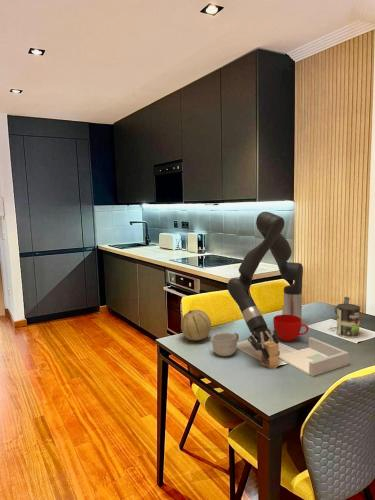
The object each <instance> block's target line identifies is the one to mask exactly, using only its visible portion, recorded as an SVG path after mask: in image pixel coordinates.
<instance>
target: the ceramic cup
mask: <svg viewBox="0 0 375 500" xmlns="http://www.w3.org/2000/svg"><path fill="white" fill-rule="evenodd" d="M272 319H273V321H272V323H273V324H272V325H273V329H274V330H276V332H277V336H278V339H279V340H281V341H285V342H293V341H295V339H297V337H298V336H303V335H306V334H307V333H308V332H309V325H307V324H305V323H303V324H302V325H301V318H300V317H298V316H294V315H282V314H277V315H275V316H273V318H272ZM302 327H305V329H306V330H305V331H304V332H302V333H301V330H302ZM274 330H273V331H274Z"/></svg>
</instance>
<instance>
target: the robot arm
mask: <svg viewBox="0 0 375 500" xmlns="http://www.w3.org/2000/svg"><path fill="white" fill-rule="evenodd" d="M255 224H256V229H257V231H259V233H260V234H261V235H262V236H261V237H263V241H261V242H260V243H259V244H258V245H257V246H255V247H254V248H253V249H251V250H249V252H248V253H246V255H245V256H244V257H243V259H242V262H241V263H240V265H239V267H238V273H239V277H238V278H234V277H233V278H230V279H229V280H228V282H227V284H226V285H227V291H228V293H229V295H230V296H231V298H232V299H233V300H234V302H235V303H236V305H237V306H238V308H239V310H240V312H241V315H242V317H243V320H244V322H245V324H246V326H247V328H248V331H249V332H250V333H251V335H250V336H249V337H247V341H248V342H249V343H250V345H251V346H252V348H254V351H260V352H262V354H263V356H264V358H266V359H269V358H270V356H269V354H268V352H267V350H266V349H265V346H264V342H266V341H271V342H274V343H276V344H278V345H279V344H280V338H279V337H278V336H277V332H276V330H270V329H269V328H268V325H267V323H266V320H265V318H264V316H263V315H262V313H261V311H260V309H259V307H258V306H257V305H256V303H255V300H254V298H253V297H252V296H251V295H249V294H248V292H249V290H250V289H251V285H252V281H253V278H254V275H255V273H256V271H257V269H258V267H259V265H260V263H261V261H262V260H263V259H264V257H265V256H266V254H267V253H268V251H270V253H271V255H272V256H273V258H274V261H275V263H276V265H277V267H278V271H279V274H280V276H281V278H282V279H284V280H286V281H287V280H288V281H294V283H293V284H289V285H287V286H284V287H283V305H282V306H281V307H282V312H281V313H282V314H281V315H294V316H298V317H300V318H301V325H302V322H303V320H302V318H303V316H302V314H303V311H302V308H303V306H302V305H303V298H302V297H303V296H302V295H303V276H304V267H303V264H302V263H300V262H288V261H289V260H290V258H291V256H292V251H293V250H292V247H291V245H290V243H289V241H288V240H287V239H286V237H284V235H282V232H283V230H284V228H285V219H284V218H283V217H281V216H280V215H278V214H275V213H272V212H270V211H262V212H260V213H259V214H258V215H257V217H256V221H255ZM280 355H281V354H280V351H279V356H280Z"/></svg>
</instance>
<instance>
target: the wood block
mask: <svg viewBox="0 0 375 500" xmlns="http://www.w3.org/2000/svg"><path fill="white" fill-rule="evenodd" d="M264 346H265V349H266V350H267V352H268V354H269V356H270V358H269V359H266V358H264V356H263V354H262V352H261V351H260V352H261V354H260V355H261V357H260V358H261V359H260V361H261V362H260V363H261V365H263V366H265V367H266V368H268V369H269V370H270V369H274V368H277V367H279V358H278V356H280V355H279V354H280V353H279V352H280V350H279V347H280V346H279V343H278V344H276V343H274V342H271V341H266V342H264Z"/></svg>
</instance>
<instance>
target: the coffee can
mask: <svg viewBox="0 0 375 500" xmlns="http://www.w3.org/2000/svg"><path fill="white" fill-rule="evenodd" d="M336 306H337V315H336V335H337V336H340V337H342V338H344V339H345V338H347V339H357V338H359V337H360V322H361V321H360V318H361V316H360V315H361V306H359V305H357V304H354V303H353V304H352V303H349V304H343V303H339V304H337V305H336Z"/></svg>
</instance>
